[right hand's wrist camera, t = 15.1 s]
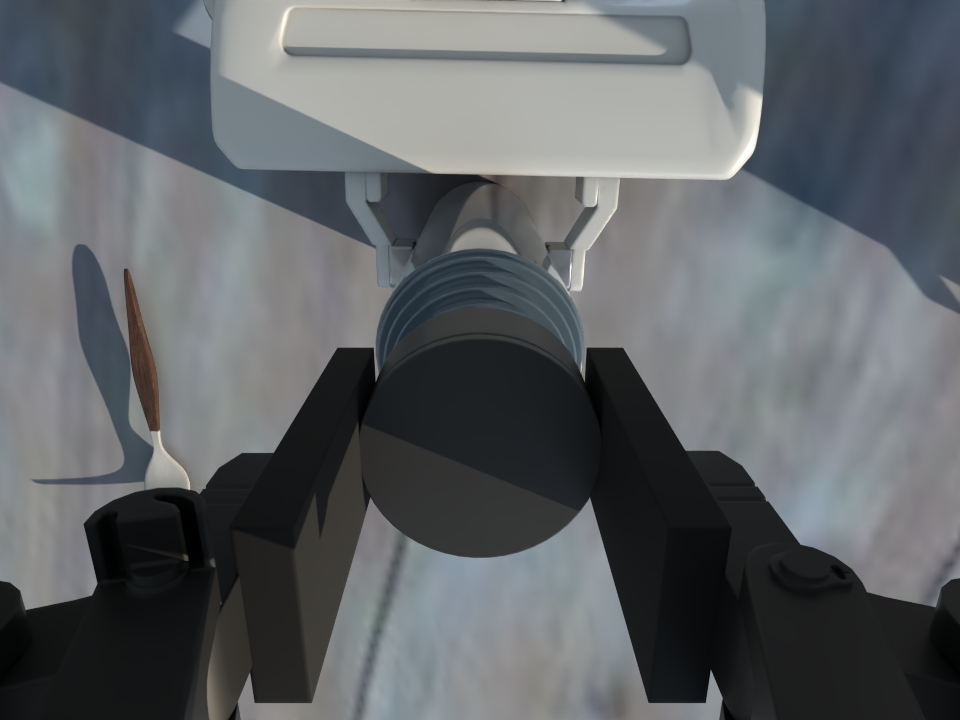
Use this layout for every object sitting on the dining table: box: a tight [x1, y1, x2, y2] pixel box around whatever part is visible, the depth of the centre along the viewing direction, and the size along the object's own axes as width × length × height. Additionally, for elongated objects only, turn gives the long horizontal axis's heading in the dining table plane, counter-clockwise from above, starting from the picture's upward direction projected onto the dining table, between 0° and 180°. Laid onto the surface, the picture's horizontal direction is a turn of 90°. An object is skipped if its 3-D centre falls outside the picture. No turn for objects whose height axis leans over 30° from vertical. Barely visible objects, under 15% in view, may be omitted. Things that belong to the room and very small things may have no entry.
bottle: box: [376, 182, 585, 373], centre depth 24 cm, size 6×6×23 cm
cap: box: [359, 307, 601, 558], centre depth 13 cm, size 4×4×2 cm
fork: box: [124, 269, 190, 490], centre depth 37 cm, size 3×16×2 cm, turn 0°
